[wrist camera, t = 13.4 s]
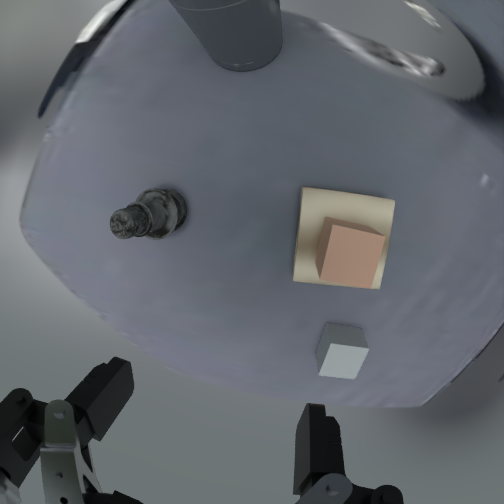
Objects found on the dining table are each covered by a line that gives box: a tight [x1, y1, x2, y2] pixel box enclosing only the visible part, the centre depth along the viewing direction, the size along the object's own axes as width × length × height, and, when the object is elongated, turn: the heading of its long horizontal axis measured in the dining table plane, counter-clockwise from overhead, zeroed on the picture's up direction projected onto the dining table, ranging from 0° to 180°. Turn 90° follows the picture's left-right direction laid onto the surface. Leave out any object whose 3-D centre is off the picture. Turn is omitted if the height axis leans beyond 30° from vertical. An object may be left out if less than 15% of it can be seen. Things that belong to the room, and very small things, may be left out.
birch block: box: [293, 187, 395, 289], centre depth 29 cm, size 10×10×4 cm
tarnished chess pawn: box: [110, 188, 186, 240], centre depth 27 cm, size 6×6×12 cm
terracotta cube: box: [315, 217, 386, 289], centre depth 25 cm, size 5×5×5 cm
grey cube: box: [316, 323, 369, 379], centre depth 32 cm, size 5×5×5 cm
